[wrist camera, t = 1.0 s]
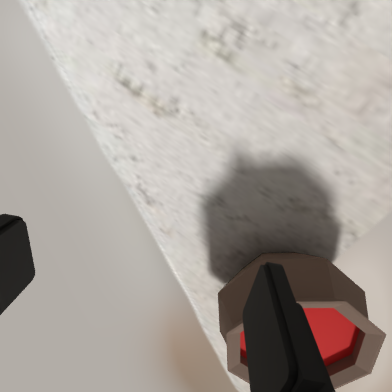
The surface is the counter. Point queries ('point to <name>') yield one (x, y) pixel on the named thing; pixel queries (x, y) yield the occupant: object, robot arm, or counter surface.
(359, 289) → the brown cauldron
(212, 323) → the counter surface
